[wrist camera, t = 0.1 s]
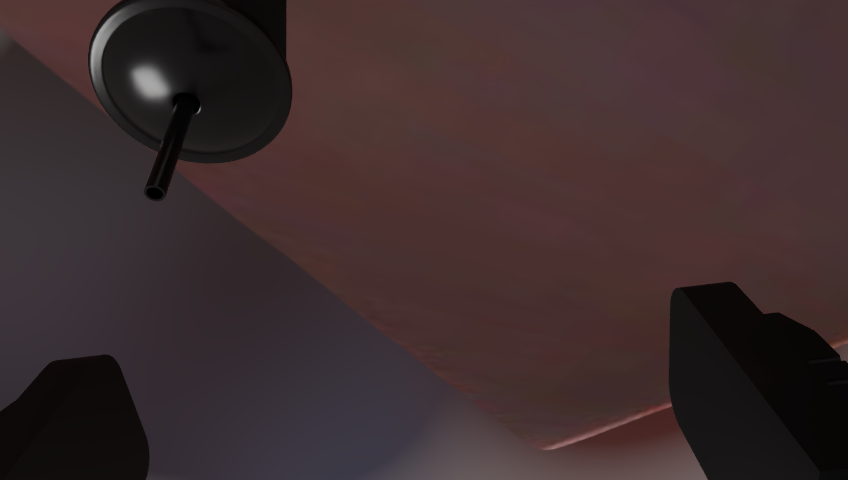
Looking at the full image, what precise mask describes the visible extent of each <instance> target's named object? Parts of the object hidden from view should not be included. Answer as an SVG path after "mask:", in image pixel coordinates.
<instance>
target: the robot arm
mask: <svg viewBox="0 0 848 480" xmlns="http://www.w3.org/2000/svg"><path fill="white" fill-rule="evenodd" d="M669 391H670V397H671V403H672V407H673V411H674V414H675V417H676V420H677V422H678V424H679V426H680V428H681V430H682V432H683V434H684V436H685V438H686V440H687V441H688V443H689V445H690V447H691V449H692V451H693V453H694V454H695V456H696V458H697V460H698V462H699V463H700V466H701V467H702V469H703V471H704V473H705V475H706V477H707V479H708V480H848V363H847V362H846V361H841V359H840V355H839V354H838V353H837V352H836V351H835V350H834V349H833V348H832V347H831V346H830V345H829V344H828V343H827V342H826V341H825V340H824V339H823V338H822V337H821V336H820V335H819V334H818V333H817V332H815V331H814V330H812V329H810V328H808V327H806V326H804V325H802V324H800V323H798V322H796V321H794V320H792V319H790V318H788V317H786V316H785V315H783V314H781V313H779V312H777V313H769V314H763V313H762V312H761V311H760V310H759V309H758V308H757V307H756V305H755V304H754V303H753V302H752V301H751V300H750V299H749V298H748V297H747V296H746V295H745V294H744V293H743V291H742V290H741V289H740V288H739V287H738V286H737V285H736V284H735V283H733V282H723V283H714V284H706V285H697V286H689V287H681V288H676V289H674V291H673V293H672V296H671V301H670V340H669ZM148 468H149V447H148V441H147V437H146V434H145V432H144V429H143V426H142V424H141V421H140V419H139V416H138V413H137V411H136V408H135V405H134V403H133V400H132V397H131V395H130V392H129V389H128V387H127V384H126V381H125V379H124V376H123V373H122V371H121V368H120V366H119V364H118V363H117V361H116V360H115V359H114V358H113V357H112V356H110V355H96V356H88V357H80V358H72V359H62V360H55V361H53V362H51V363H49V364H48V365H47V366H46V367H45V368H44V369H43V370H42V371H41V373H40V374H39V375H38V376H37V377H36V379H35V380H34V381H33V382H32V383H31V384H30V385H29V386H28V388H27V389H26V390H25V391H24V392H23V393H22V394H21V396H20V397H19V398H18V399H17V400H16V401H14V402H13V403H11V404H10V405H9V406H7V407H6V408H5V409H3V410H2V411H0V480H146V477H147V473H148Z"/></svg>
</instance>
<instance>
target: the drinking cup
mask: <svg viewBox="0 0 848 480" xmlns="http://www.w3.org/2000/svg"><path fill="white" fill-rule="evenodd" d="M88 67H89V74H90V79H91V82H92V85H93V88H94V91H95V93H96V95H97V97H98V99H99V101H100V103H101V104H102V106H103V108H104V109H105V110H106V112H107V113H108V114H109V116H110V117H111V118H112V119H113V120H114V121H115V122H116V123H117V125H118V126H119V127H121V128H122V129H123V130H124V131H125V132H126V133H127V134H129V135H130V136H131V137H133V138H134V139H135V140H137V141H138V142H140V143H142V144H143V145H145V146H147V147H149V148H150V149H152V150H154V151H157V152H158V154H157V157H156V159H155V162H154V165H153V167H152V170H151V173H150V176H149V178H148V181H147V184H146V186H145V189H144V194H145V196H146V197H147V198H148V199H150V200H153V201H161V200H163V199H164V198H165V196H166V193H167V190H168V187H169V184H170V181H171V178H172V175H173V172H174V169H175V167H176V164H177V161H178V159H179V160H184V161H189V162H195V163H224V162H230V161H235V160H239V159H242V158H245V157H247V156H250V155H252V154H254V153H256V152H258V151H259V150H261V149H262V148H264V147H265V146H266V145H268V144H269V143H270V142H271V141H272V140H273V139H274V138H275V137H276V136H277V135H278V134H279V132H280V131H281V129H282V128H283V126H284V124H285V122H286V120H287V117H288V115H289V111H290V108H291V101H292V79H291V74H290V70H289V67H288V64H287V61H286V0H122V1H120V2H119V3H117V4H116V5H114V6H113V7H112V8H111V9H110V10H109V11H108V12H107V13H106V14H105V16H104V17H103V18H102V19H101V21H100V22H99V24H98V26H97V27H96V29H95V31H94V33H93V36H92V38H91V42H90V45H89V52H88Z"/></svg>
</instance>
